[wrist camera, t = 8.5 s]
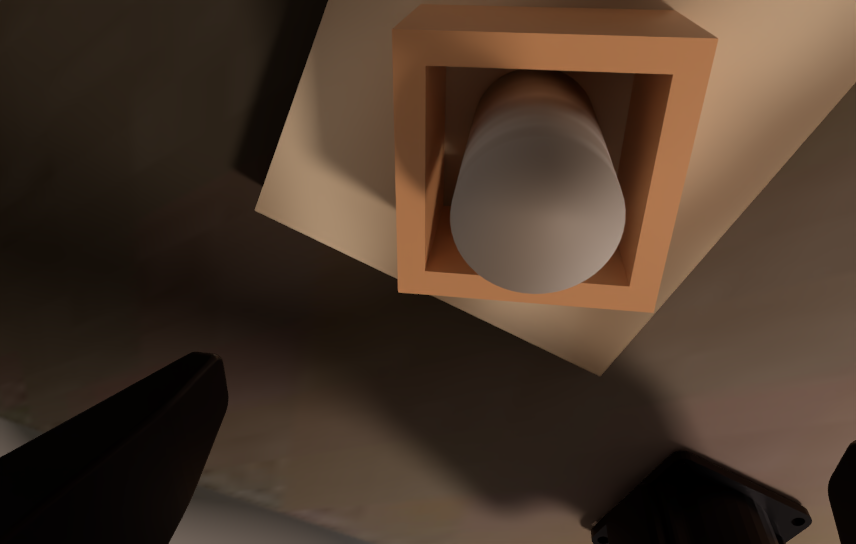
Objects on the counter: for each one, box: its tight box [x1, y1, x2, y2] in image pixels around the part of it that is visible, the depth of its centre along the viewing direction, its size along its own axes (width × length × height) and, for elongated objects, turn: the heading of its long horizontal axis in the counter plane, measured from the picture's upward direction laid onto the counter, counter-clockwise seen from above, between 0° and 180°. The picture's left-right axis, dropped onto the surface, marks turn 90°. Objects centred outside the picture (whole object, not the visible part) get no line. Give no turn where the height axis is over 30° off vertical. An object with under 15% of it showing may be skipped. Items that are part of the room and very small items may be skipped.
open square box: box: [392, 4, 718, 313], centre depth 15 cm, size 6×6×4 cm
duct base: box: [255, 0, 856, 376], centre depth 15 cm, size 13×13×8 cm
